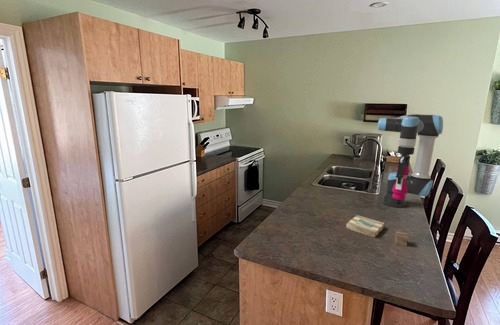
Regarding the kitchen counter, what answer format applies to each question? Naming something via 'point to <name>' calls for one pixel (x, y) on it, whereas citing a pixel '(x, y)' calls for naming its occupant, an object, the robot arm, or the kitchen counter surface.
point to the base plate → (365, 226)
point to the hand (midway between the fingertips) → (400, 187)
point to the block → (401, 238)
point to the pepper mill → (401, 193)
